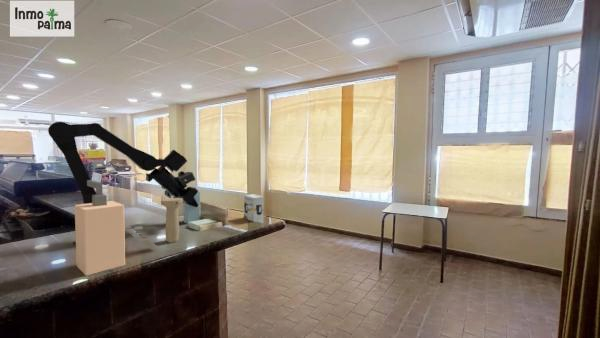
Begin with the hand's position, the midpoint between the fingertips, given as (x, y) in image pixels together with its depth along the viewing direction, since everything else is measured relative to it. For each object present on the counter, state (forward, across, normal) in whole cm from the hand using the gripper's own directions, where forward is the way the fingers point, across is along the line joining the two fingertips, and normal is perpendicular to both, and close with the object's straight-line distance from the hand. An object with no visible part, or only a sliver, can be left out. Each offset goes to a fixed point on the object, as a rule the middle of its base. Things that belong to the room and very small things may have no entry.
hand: (194, 205), depth 114 cm
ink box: (+20, -13, -8) cm, 25 cm away
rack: (+6, -4, +5) cm, 9 cm away
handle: (-6, -19, +18) cm, 27 cm away
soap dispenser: (-20, -20, +32) cm, 42 cm away
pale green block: (+4, -10, +6) cm, 12 cm away
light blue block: (+4, 0, +6) cm, 7 cm away
